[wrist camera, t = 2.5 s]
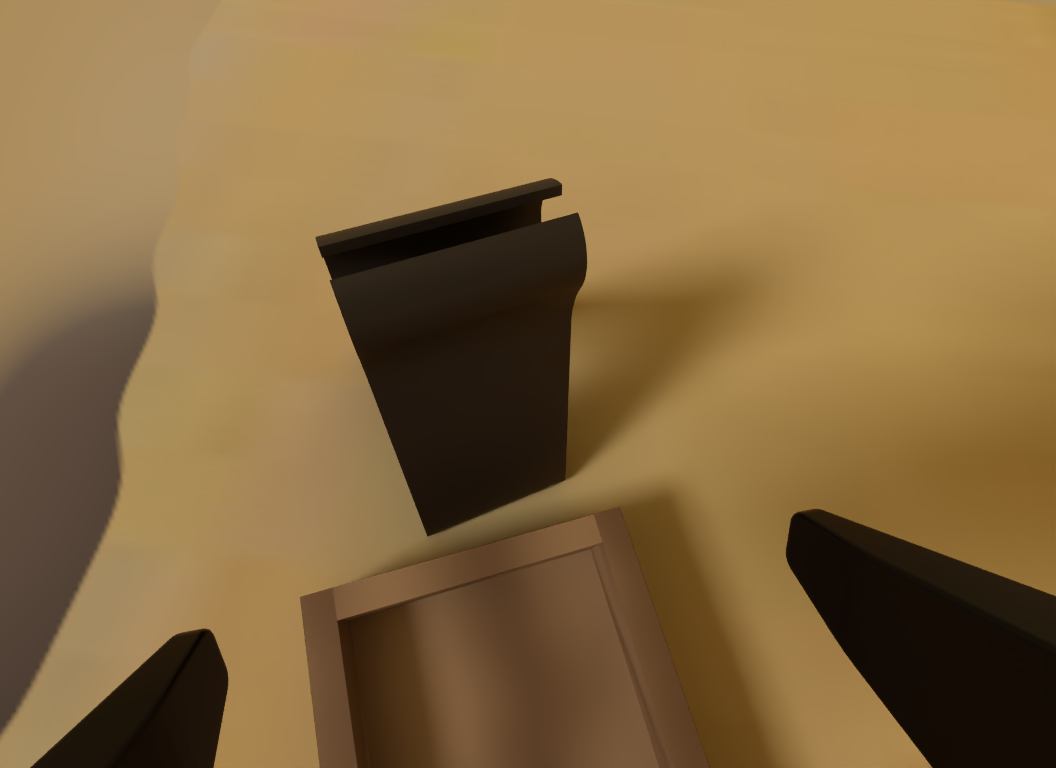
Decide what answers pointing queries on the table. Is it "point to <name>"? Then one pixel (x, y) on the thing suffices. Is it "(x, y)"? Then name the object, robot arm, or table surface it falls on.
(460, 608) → the cradle
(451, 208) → the phone stand
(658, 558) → the table surface
